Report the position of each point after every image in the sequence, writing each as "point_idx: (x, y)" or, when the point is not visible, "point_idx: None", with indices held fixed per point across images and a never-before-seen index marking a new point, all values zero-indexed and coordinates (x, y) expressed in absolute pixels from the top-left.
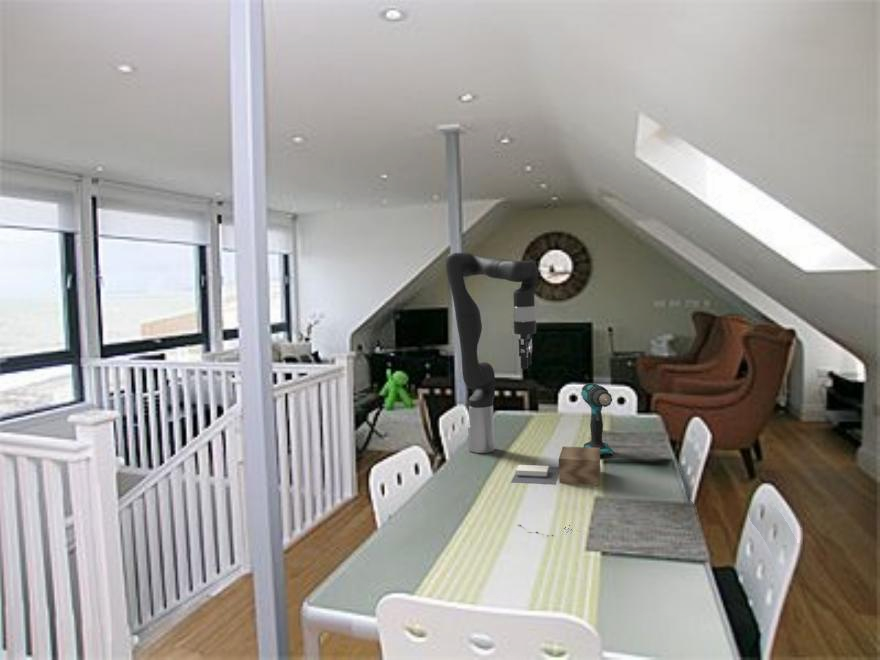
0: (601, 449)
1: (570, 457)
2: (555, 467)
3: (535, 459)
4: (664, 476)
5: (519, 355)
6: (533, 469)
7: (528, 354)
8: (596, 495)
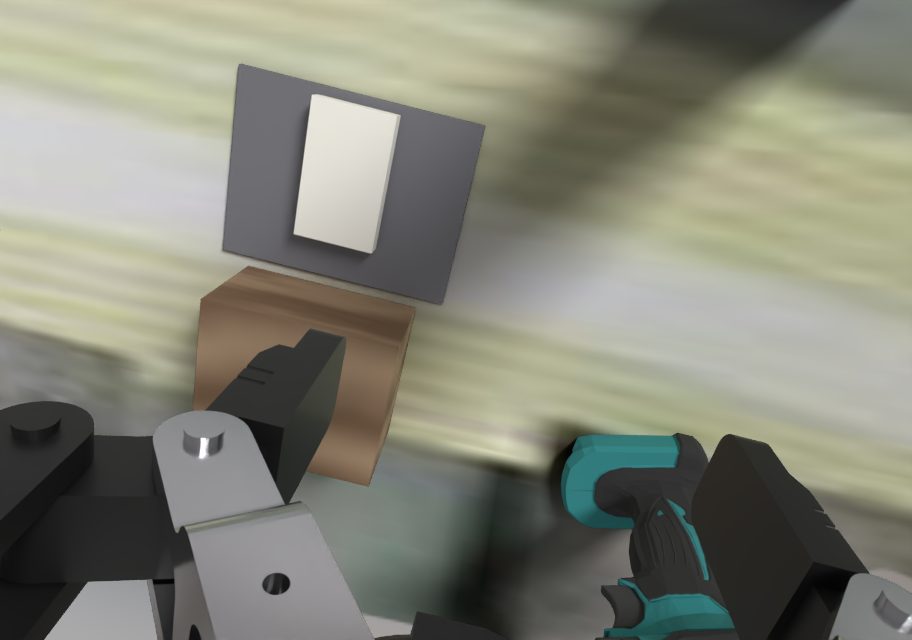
0: (592, 494)
1: (222, 350)
2: (434, 281)
3: (584, 212)
4: None
5: (3, 420)
6: (323, 180)
7: (783, 631)
8: (142, 363)
